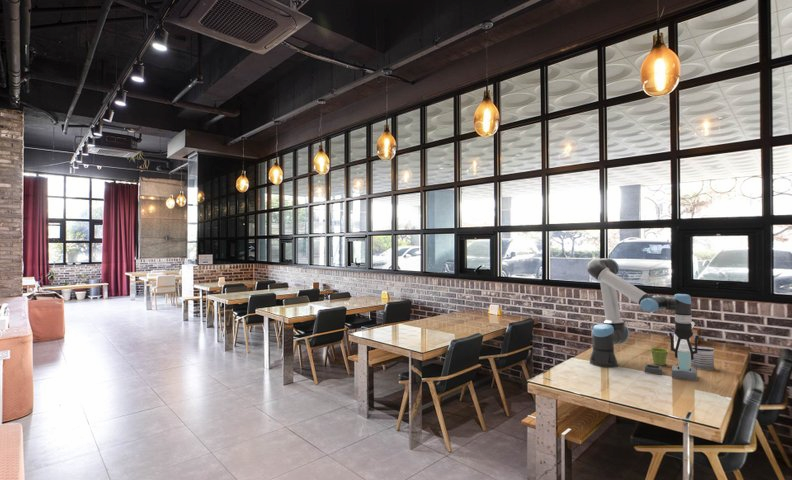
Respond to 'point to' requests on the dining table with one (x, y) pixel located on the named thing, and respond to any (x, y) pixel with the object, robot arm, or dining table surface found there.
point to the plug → (684, 360)
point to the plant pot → (659, 356)
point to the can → (703, 358)
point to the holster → (653, 369)
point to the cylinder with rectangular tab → (681, 343)
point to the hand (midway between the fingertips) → (684, 364)
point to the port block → (684, 373)
